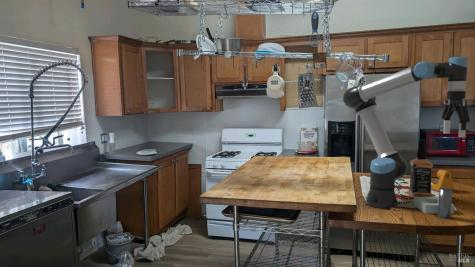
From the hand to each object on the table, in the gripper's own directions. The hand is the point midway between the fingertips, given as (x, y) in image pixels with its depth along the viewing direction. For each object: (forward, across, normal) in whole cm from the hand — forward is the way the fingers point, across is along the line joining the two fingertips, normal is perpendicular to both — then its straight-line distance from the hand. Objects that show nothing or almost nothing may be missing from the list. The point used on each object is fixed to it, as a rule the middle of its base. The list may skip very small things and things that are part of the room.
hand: (453, 135), depth 172 cm
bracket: (+37, +35, -13) cm, 53 cm away
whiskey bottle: (+37, +19, +6) cm, 42 cm away
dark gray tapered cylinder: (+37, -13, +9) cm, 40 cm away
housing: (+37, -2, +9) cm, 38 cm away
